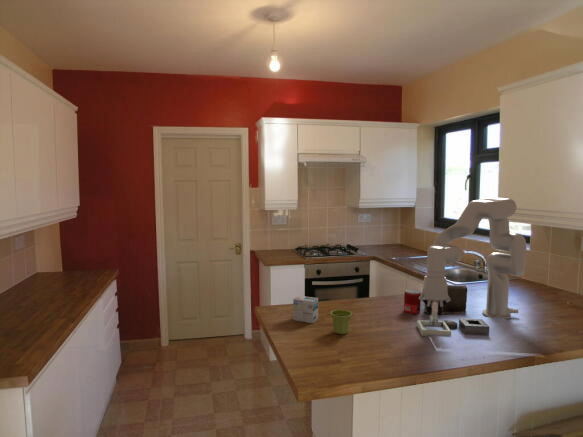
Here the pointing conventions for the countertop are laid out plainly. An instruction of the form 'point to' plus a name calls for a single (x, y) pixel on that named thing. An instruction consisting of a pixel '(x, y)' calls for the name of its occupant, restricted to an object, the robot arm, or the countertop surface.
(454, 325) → the wheel
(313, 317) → the light bulb box
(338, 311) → the plant pot
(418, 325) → the parts tray
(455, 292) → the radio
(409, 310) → the canned food
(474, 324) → the block
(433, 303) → the pin
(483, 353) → the countertop surface
